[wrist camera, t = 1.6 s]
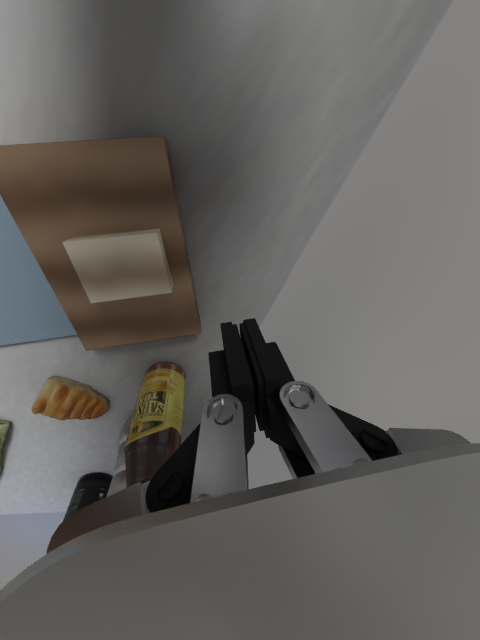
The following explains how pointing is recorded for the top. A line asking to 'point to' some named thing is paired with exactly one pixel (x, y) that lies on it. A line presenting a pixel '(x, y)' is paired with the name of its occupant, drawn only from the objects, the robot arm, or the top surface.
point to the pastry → (69, 400)
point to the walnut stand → (101, 228)
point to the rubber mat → (25, 291)
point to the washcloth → (3, 437)
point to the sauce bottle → (155, 422)
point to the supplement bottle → (89, 491)
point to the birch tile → (121, 264)
